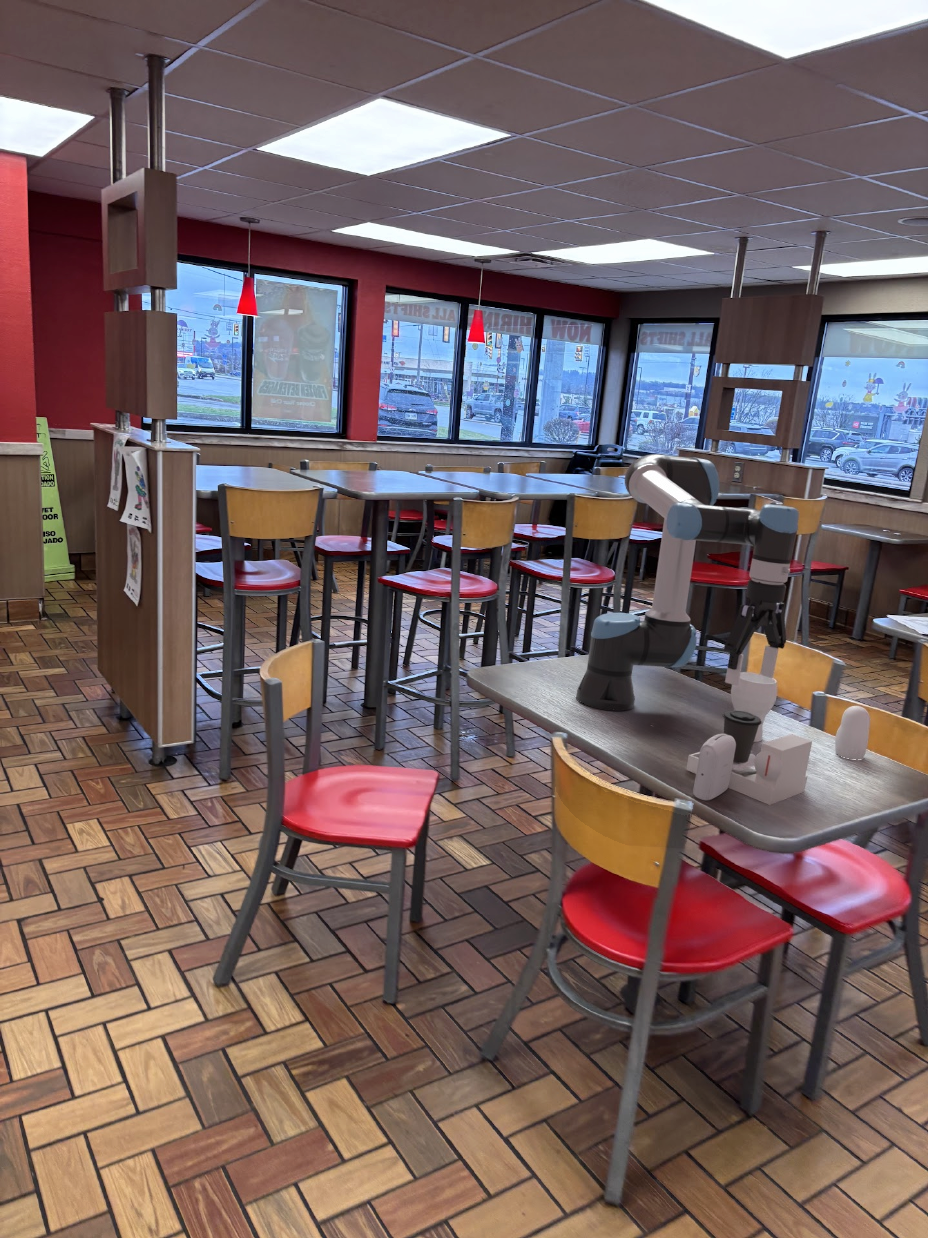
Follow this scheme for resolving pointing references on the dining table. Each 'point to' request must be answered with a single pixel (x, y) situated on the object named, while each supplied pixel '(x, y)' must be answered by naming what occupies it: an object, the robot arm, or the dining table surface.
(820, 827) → the dining table surface
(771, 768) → the base
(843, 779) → the dining table surface
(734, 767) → the pan
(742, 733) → the coffee cup
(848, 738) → the figurine
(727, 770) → the photo printer
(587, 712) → the dining table surface
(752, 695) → the cup
